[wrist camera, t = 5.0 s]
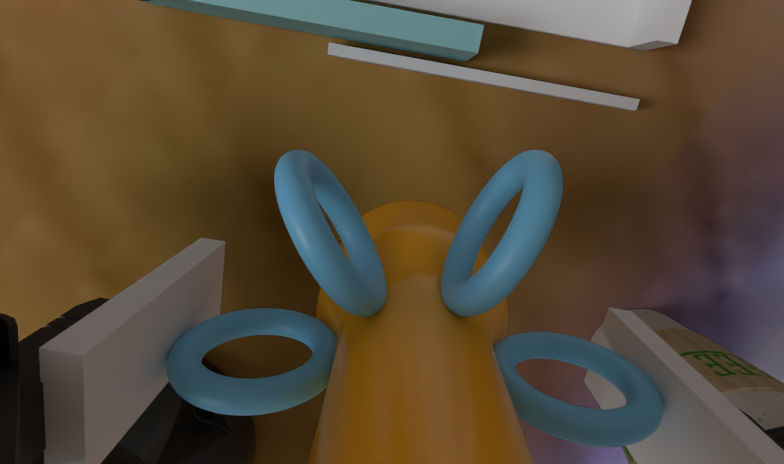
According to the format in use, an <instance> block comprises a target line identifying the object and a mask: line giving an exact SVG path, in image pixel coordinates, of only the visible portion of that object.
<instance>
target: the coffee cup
mask: <svg viewBox="0 0 784 464" xmlns="http://www.w3.org/2000/svg"><path fill="white" fill-rule="evenodd" d="M627 311H632V312H633V313H634V314H635V315H636V316H637V317H639V318H640V319H641V320H642V321H643V322H644V323H645V324H646V325H647V326H648V327H649V328H651V329H652V330H653V331H654V332H655V333H656V334H657V335H658V336H659V337H660V338H661V339H663V340H664V341H665V342H666V343H667V344H668V345H669V346H670V347H671V348H672V349H673V350H675V351H676V352H677V353H678V354H679V355H680V356H681V357H682V358H683V359H684V360H685V361H687V362H688V363H689V364H690V365H691V366H692V367H693V368H694V369H695V370H696V371H697V372H699V373H700V374H701V375H702V376H703V377H704V378H705V379H706V380H707V381H708V382H709V383H711V384H712V385H713V386H714V387H715V388H716V389H717V390H718V391H719V392H720V393H721V394H723V395H724V396H725V397H726V398H727V399H728V400H729V401H730V402H731V403H732V404H733V405H735V406H736V407H737V408H739V409H740V410H742V411H743V412H745V413H746V414H748V415H749V416H751V417H752V418H753V419H754V420H755V421H756V422H757V423H758V424H759V425H761V426H762V427H763V428H764V429H765V430H766V431H767V434H770V435H772V436H773V437H774V438H775V439H776V440H777V441H778V442H779V443H780V444H781V447H784V383H782V382H780V381H779V380H777V379H775V378H774V377H772V376H770V375H769V374H767V373H765V372H763V371H762V370H760V369H758V368H757V367H755V366H753V365H752V364H750V363H748V362H747V361H745V360H743V359H742V358H740V357H738V356H737V355H735V354H733V353H732V352H730V351H728V350H726V349H725V348H723V347H721V346H720V345H718V344H716V343H715V342H713V341H711V340H710V339H708V338H706V337H704V336H702V335H700V334H698V333H696V332H692V331H690V330H689V329H687V328H686V327H684V326H682V325H681V324H679V323H677V322H676V321H674V320H672V319H671V318H669V317H668V316H666V315H664V314H662V313H660V312H657V311H653V310H650V309H632V310H627ZM602 325H603V324H602ZM602 325H601V326H600V327H599V328H598V329H597V330H596V331H595V333H594V334H593V336H592V338H591V340H590V342H593V343H597V340H598V337H599V334H600V331H601V328H602ZM622 448H623V451H624V453H625V455H626V458H627V460H628V462H629V464H637V462H636V461H635V459H634V458H633V456H632V455H631V453H630V451H629V450H628V448H627V447H626V446H622Z"/></svg>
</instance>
